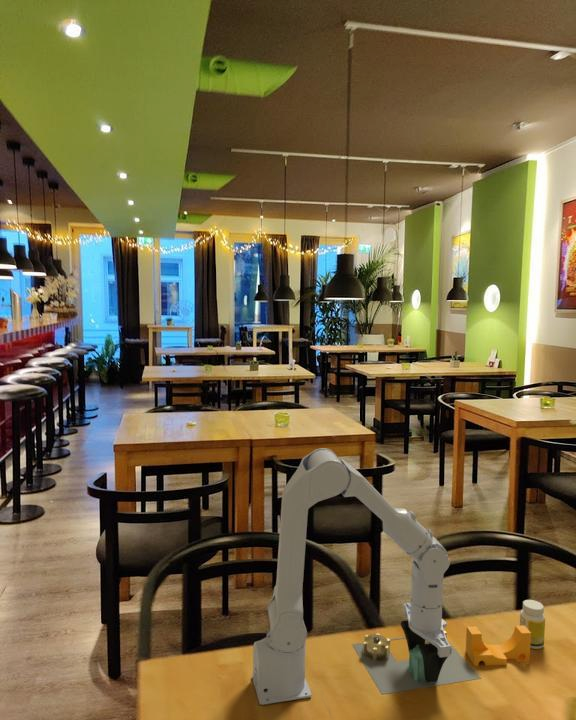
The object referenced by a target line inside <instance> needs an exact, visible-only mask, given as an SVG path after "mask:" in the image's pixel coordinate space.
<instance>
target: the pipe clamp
mask: <svg viewBox="0 0 576 720" xmlns="http://www.w3.org/2000/svg"><path fill="white" fill-rule="evenodd" d="M465 632H466V635H465V636H466V637H465V653H466V655H467V656H468V658H469V659H470V661H471V663H472V664H473V666H476V667H478V666H479V664H480V662H482V663H483V664H484V666H502V665H503V666H507V665H508V664H507V663H508V660H513V659H514V660H515V661H516V662H517V663H519V664H530V660H531V659H530V658H531V648H530V644H531V632H530V631H529V630H528V629H527V628H526V627H525V625H522V626H520V625H515V626H514V631H513V632H512V635H511V636H510V638H508V640H506V641H505V642H502V643H500V644H489V643H486V642H484V641H483V638H482V637H483V636H482V635H483V634H482V632H481V631H480V630H479V628H478V627H477V626H476V625H475V626H466V631H465Z"/></svg>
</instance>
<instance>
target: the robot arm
mask: <svg viewBox="0 0 576 720" xmlns="http://www.w3.org/2000/svg"><path fill="white" fill-rule="evenodd" d="M340 494H341V495H342V496H343V497H344V498H348V497H349V498H350V497H355V498H357V499H358V500H359V501H360V502H361V503H363V504H364V506H365V507H367V508H368V509H369V510H370V511H371V512H372V513H373V514H374V515H375V516H377V518H379V519H380V521H382V532H383V533H384V534H385V535H386V536H387V537H388V538H390V539H391V540H392V542H394V543H395V544H396V546H398V548H400V550H402V551H403V552H404V553H405V554H406V555H407V556H409V557H410V558H412V559H413V561H412V566H411V567H412V569H411V571H412V572H411V573H412V574H411V588H410V590H411V591H410V602H407V603H403V608H402V613H403V615H405V616H406V618H407V619H406V620H402V621H401V622H400V626H401V628H402V630H403V633H404V637H406V638H405V640H406V644H407V648H408V654H409V653H410V650H412V649H413V648H414V647H416V645H419V649H420V651H421V654H422V657H423V662H424V674H425V679H426V681H427V682H435V681H437V680H438V677H439V674H440V671H441V668H442V666H443V664H444V662H445V660H446V659H447V657H448V656H450V654H451V650H452V649H451V646H450V644H451V643H450V642H449V640H447V638H446V635H445V632H444V631H445V630H444V628H447V625H448V624H447V622H446V621H445V620H444V618H443V600H444V599H443V597H444V575H445V573H446V571H447V570H448V569H449V567H450V565H451V559H450V558H449V555H448V552H447V551H448V550H447V549H446V548H445V547H444V546H443V545H442V544H441V542H439V541H438V539H436V538H435V537H434V535H435V534H434V532H432V531H431V529H430V528H428V529H426V528H425V527H424V526H423V525H422V524H421V522H419V521H418V520H417V519H418V516H417V515H416V514H415V513H414V512H413V511H412V510H409V511H408V510H407V509H406V508H402V507H393V506H392V505H391V504H390V502H388V501H387V500H386V498H385V497H384V496H383V495H381V493H380V492H379V491H378V490H377V489H376V488H375V487H374V486H373V485H372V484H371V483H370V482H369V481H368V480H367V479H366V478H365V476H364V475H362V473H361V472H359V471H358V470H357V469H356V468H354V467H353V466H352V465H350V463H348V462H346V460H344V459H343V458H339V457H338V456H337V454H336V453H335V452H334V451H333V450H331V449H330V448H323V447H322V448H321V447H320V448H317V449H314V450H312V452H310V453H308V454H307V455H304V457H303V458H302V459H301V461H300V464H299V466H298V467H297V468H296V471H294V473H293V474H292V476H291V478H290V479H289V480H288V482H287V484H286V485H285V486H284V488H283V491H282V495H281V506H280V507H281V509H280V523H279V538H278V554H277V565H276V566H277V569H276V582H275V586H274V587H273V595H272V597H271V599H270V600H269V601H268V605H267V614H268V618H269V626H270V627H269V629H268V632H267V633H266V637H264V638H262V639H260V640H257V641H254V643H253V645H252V646H253V653H252V676H251V677H252V682H253V685H254V688H255V692H256V695H257V696H256V697H257V699H258V703H259V705H261V706H263V705H270V704H277V703H282V702H290V701H294V700H300V699H301V700H302V699H307V698H311V697H312V692H311V689H310V686H309V683H308V681H307V679H306V649H307V648H306V645H307V644H306V641H307V638H308V631H307V627H306V625H305V621H304V607H303V606H304V605H303V583H304V572H305V571H304V570H305V559H306V557H305V556H306V544H307V527H308V516H309V515H308V514H309V509H310V508H311V507H313V506H314V505H315V504H317V503H318V502H321V501H324V500H327V499H330V498H333V497H336V496H338V495H340ZM425 640H427V641H428V642H429V644H425ZM448 642H449V643H450V644H449V643H448Z"/></svg>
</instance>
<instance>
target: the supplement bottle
mask: <svg viewBox="0 0 576 720" xmlns="http://www.w3.org/2000/svg"><path fill="white" fill-rule="evenodd" d="M544 608H545V607H544V605H543V604H542V602H540V601H537V600H534V599H525V600H523V601H522V609H521V611H520V615H519V616H520V617H519V626H522V625H525V627H526V628H527V629H528V630H529V631H530V632H531V644H530V649H535V650H539V649H542V648H543V647H544V645H545V632H546V631H545V630H546V629H545V628H546V627H545V626H546V616H545V615H544V612H545V611H544V610H545V609H544Z"/></svg>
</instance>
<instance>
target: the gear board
mask: <svg viewBox="0 0 576 720" xmlns="http://www.w3.org/2000/svg"><path fill="white" fill-rule="evenodd" d="M444 632H445V635H446V639H447V638H448V636H447V634H448V633H447V631H446V630H444ZM403 639H406V637H405V636H402V637H395V638H394V637H393V638H386V636H384V635H382V634H380V633H379V632H377V633H375V634H373V633H372V634H369V635H368V634H365V635H364V641H362V642H358V643H352V644H351V645H352V646H353V648H354V651H355V652H356V654H357V655H358V657H359V658H360V660H361V662H362V664H363V666H364V667H365V669H366V671H367V672H368V674H369V675H370V677H371V679H372V681H373V682H374V684H375V686H376V687H377V688H378V690H379V692H380V693H381V695H388V694H392V693H393V694H394V693H400V692H406V691H412V690H418V689H424V688H426V689H427V688H431V687H437V686H444V685H449V684H455V683H462V682H468V681H474V680H480V679H482V677H481V676H480V675H479V674H478V673H477V672H476V671H475V669H474V668H473V667H472V666H471V665H470V664H469V663H468V662H467V660H466V659H465V658H463V656H462V655H461V654H460V653H459V652H458V651H457V649H456V648H455V646H453V645H452V644H451V643H450V642H449V641H448V643H449V644H450V646H451V649H452V650H451V654H450V656H448V657H447V659H446V660H445V662H444V664H443V666H442V668H441V671H440V674H439V677H438V680H437V681H435V682H432V683H428V682H423V681H420V680H418V681H416V680H414V677H413V676H412V674H411V672H409V659H406V660H399V661H397V660H396V658H395V657H394V655H393V654H392V653H391V651H390V649H391V641H396V640H403ZM425 644H429V642H428V641H427V640H425Z"/></svg>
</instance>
